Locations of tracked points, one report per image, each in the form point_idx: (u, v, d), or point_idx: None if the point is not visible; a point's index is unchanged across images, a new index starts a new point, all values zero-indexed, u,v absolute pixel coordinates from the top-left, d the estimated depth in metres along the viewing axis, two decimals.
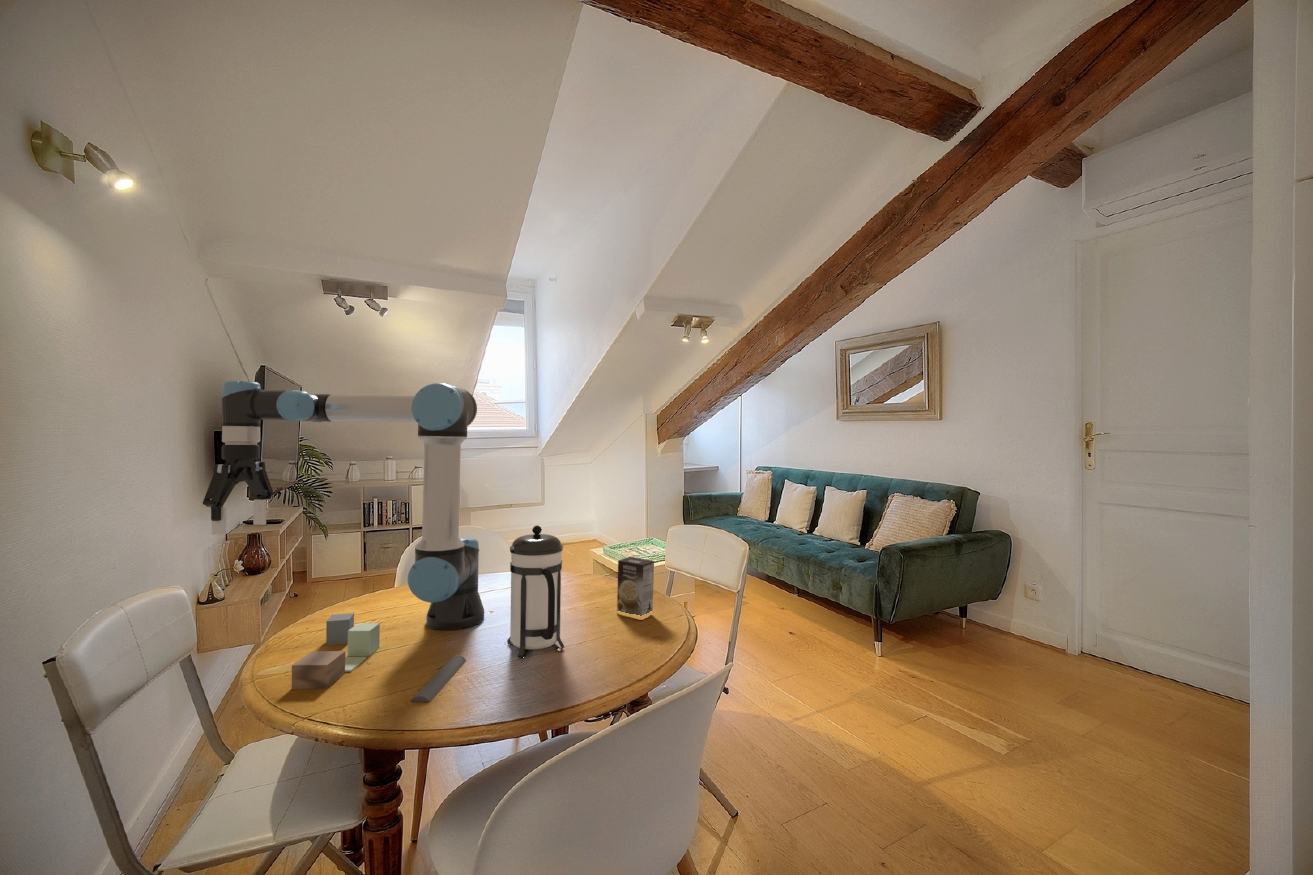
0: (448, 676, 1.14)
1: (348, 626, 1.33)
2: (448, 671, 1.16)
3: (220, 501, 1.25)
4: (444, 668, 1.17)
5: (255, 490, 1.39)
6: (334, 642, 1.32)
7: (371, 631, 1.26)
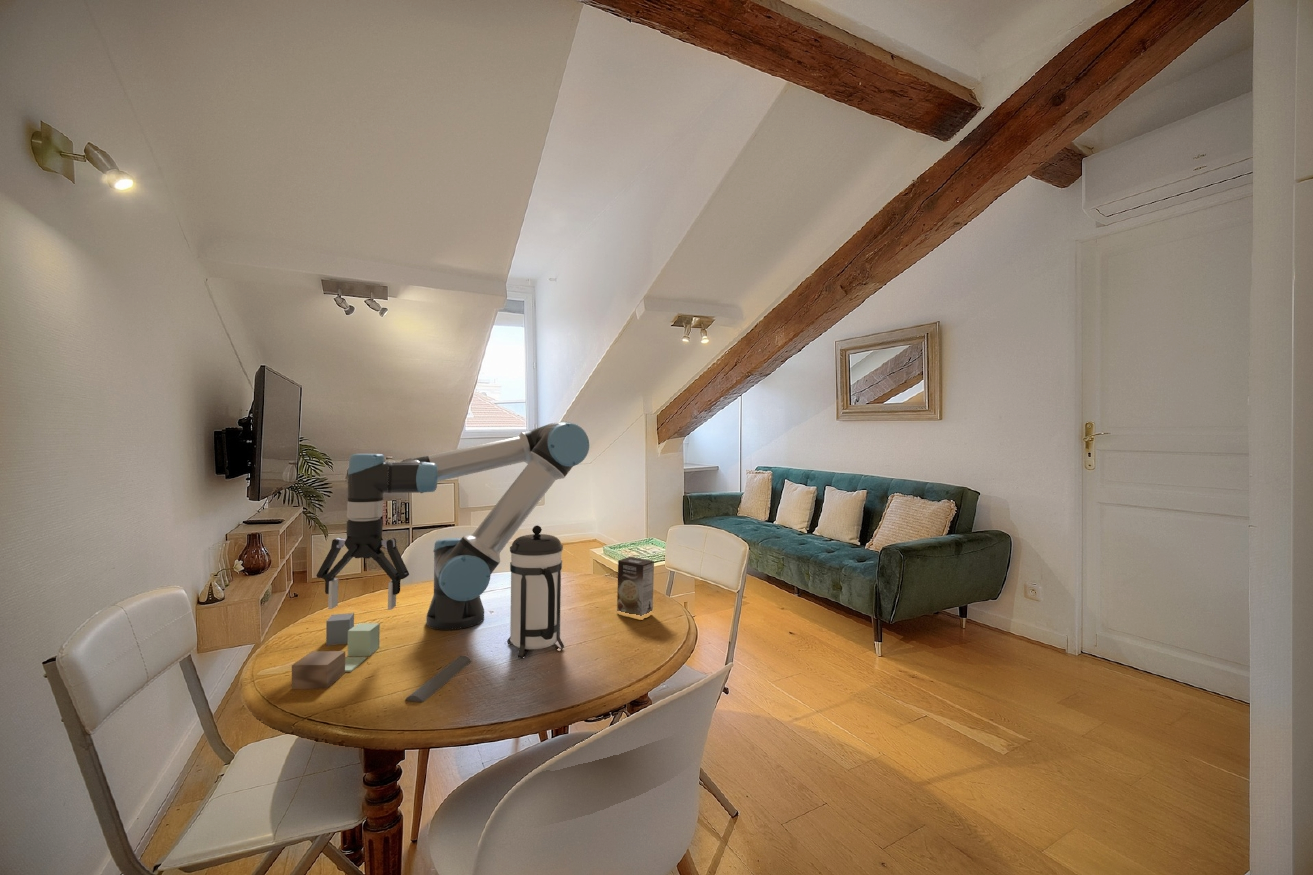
0: (448, 676, 1.14)
1: (348, 626, 1.33)
2: (449, 671, 1.16)
3: (326, 575, 1.26)
4: (446, 668, 1.17)
5: None
6: (334, 642, 1.32)
7: (371, 631, 1.26)
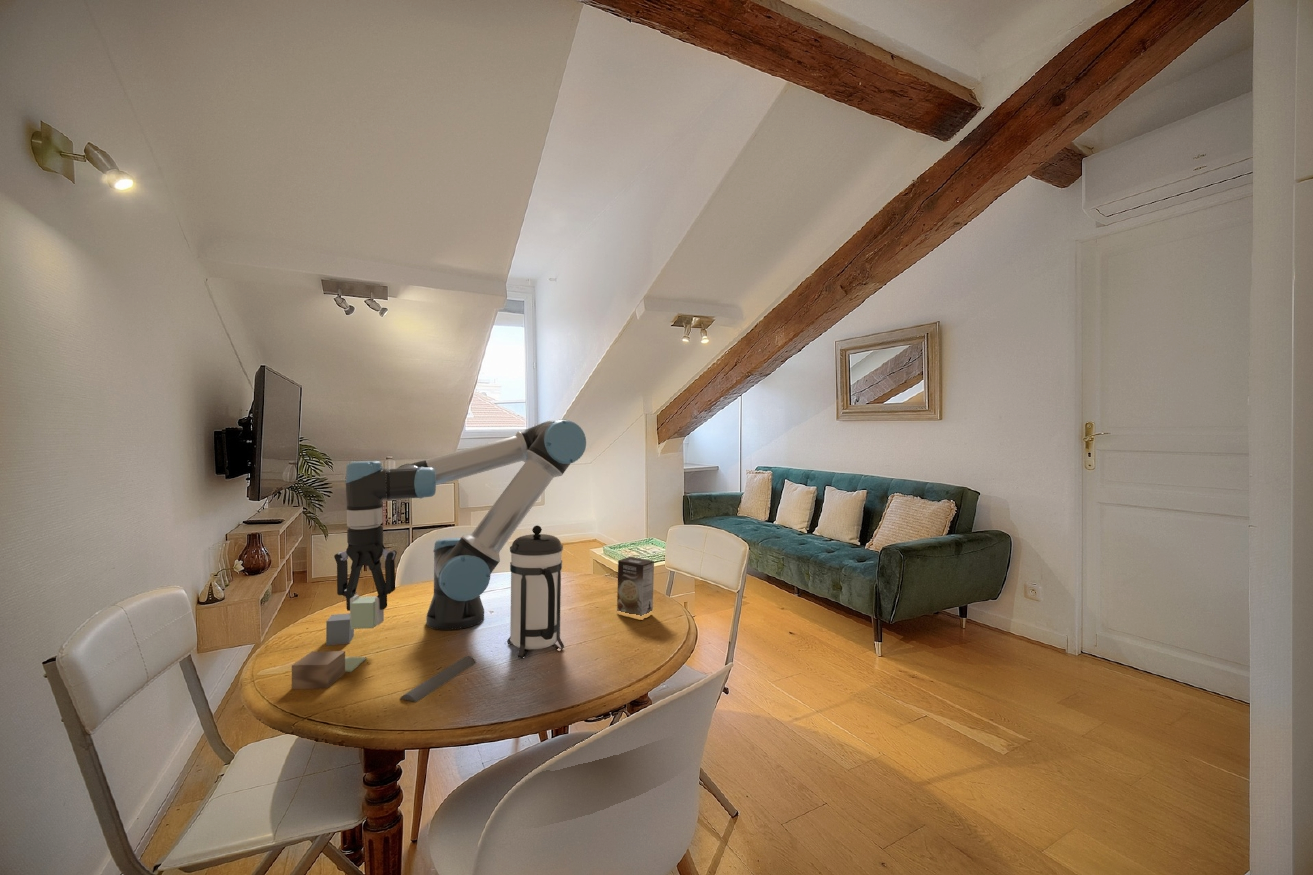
0: (447, 677, 1.14)
1: (348, 626, 1.33)
2: (449, 671, 1.16)
3: (346, 592, 1.27)
4: (447, 668, 1.17)
5: None
6: (334, 642, 1.32)
7: (374, 603, 1.26)
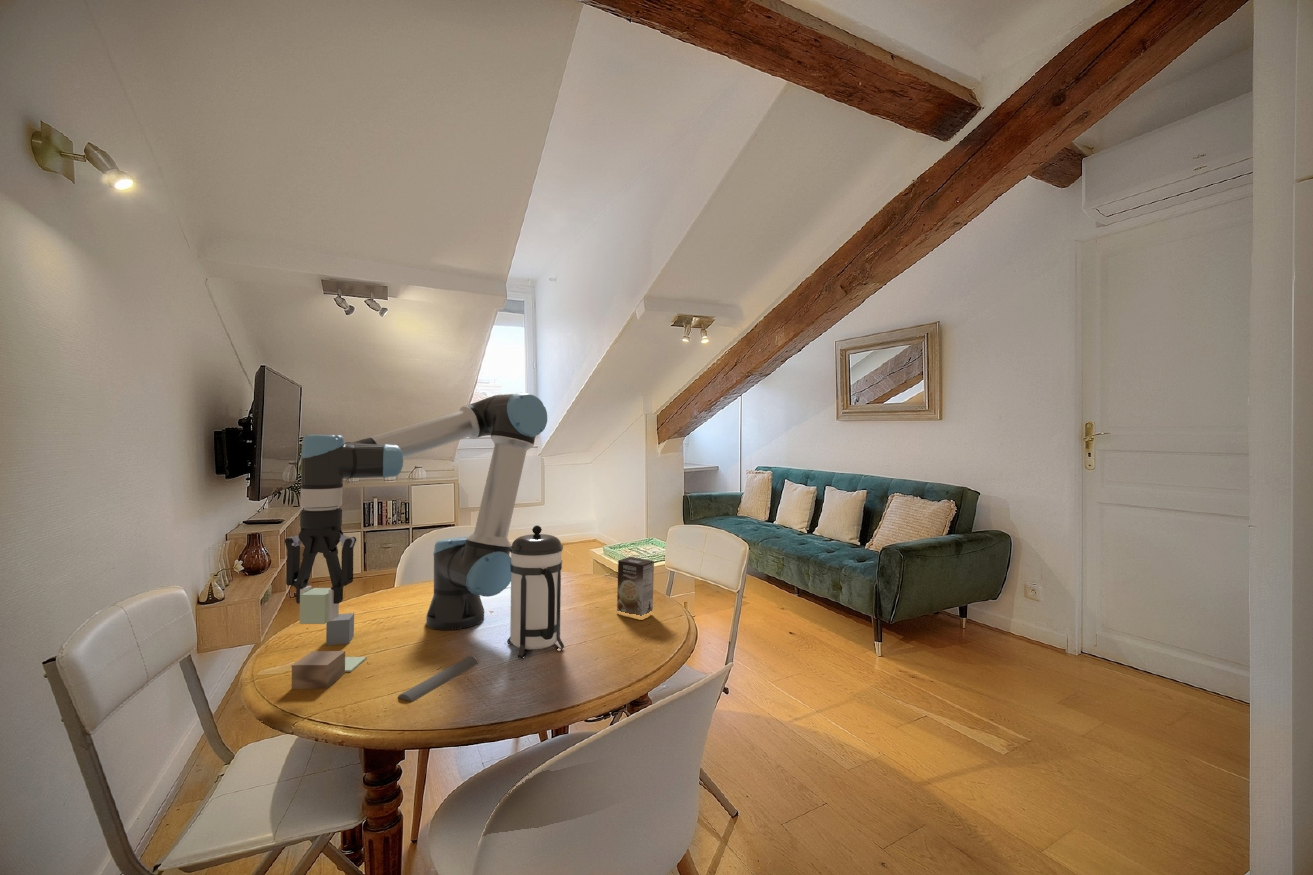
0: (447, 677, 1.14)
1: (348, 626, 1.33)
2: (450, 672, 1.16)
3: (296, 582, 1.12)
4: (448, 668, 1.17)
5: None
6: (334, 642, 1.32)
7: (327, 596, 1.11)
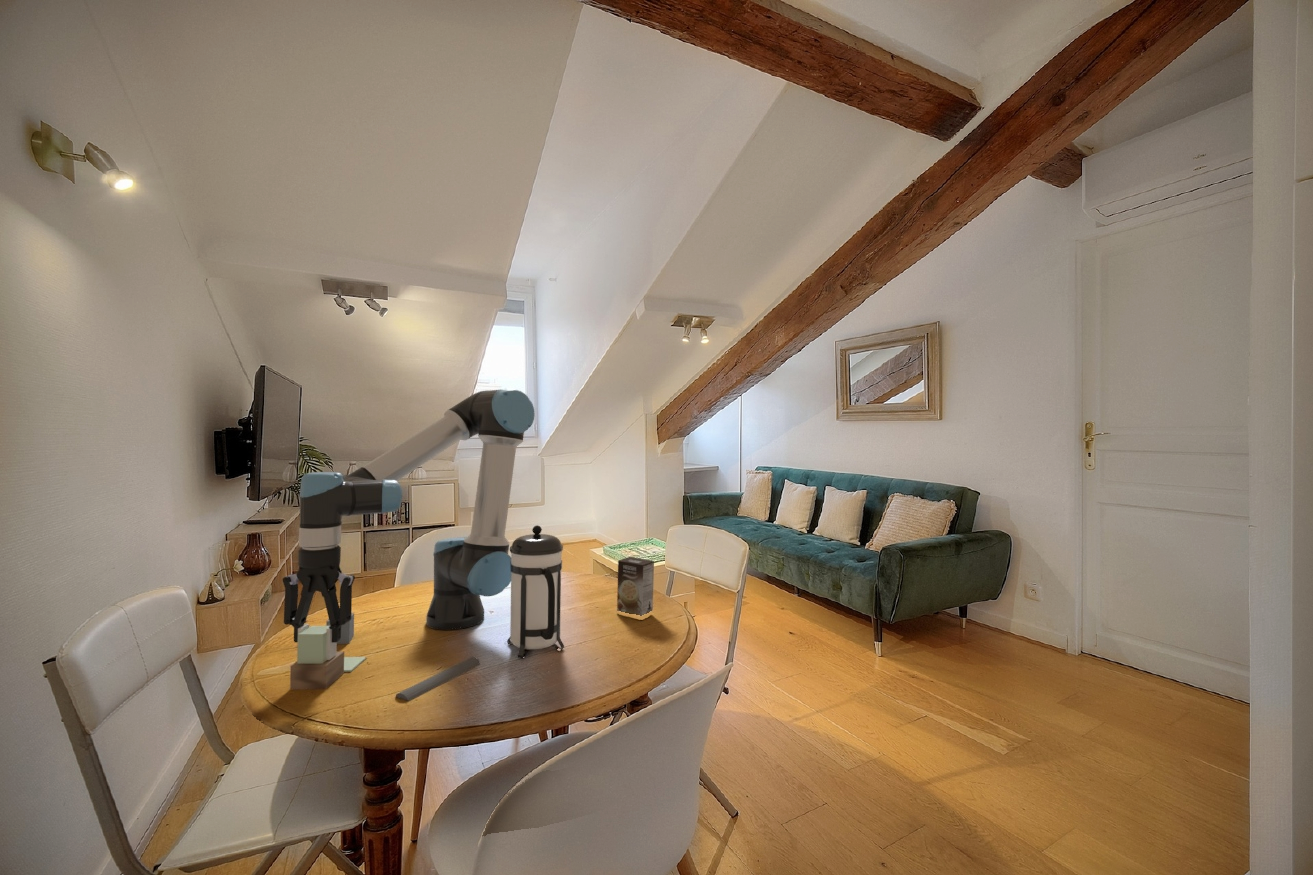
0: (446, 677, 1.14)
1: (348, 626, 1.33)
2: (450, 672, 1.15)
3: (294, 621, 1.11)
4: (449, 668, 1.17)
5: None
6: None
7: (325, 635, 1.11)
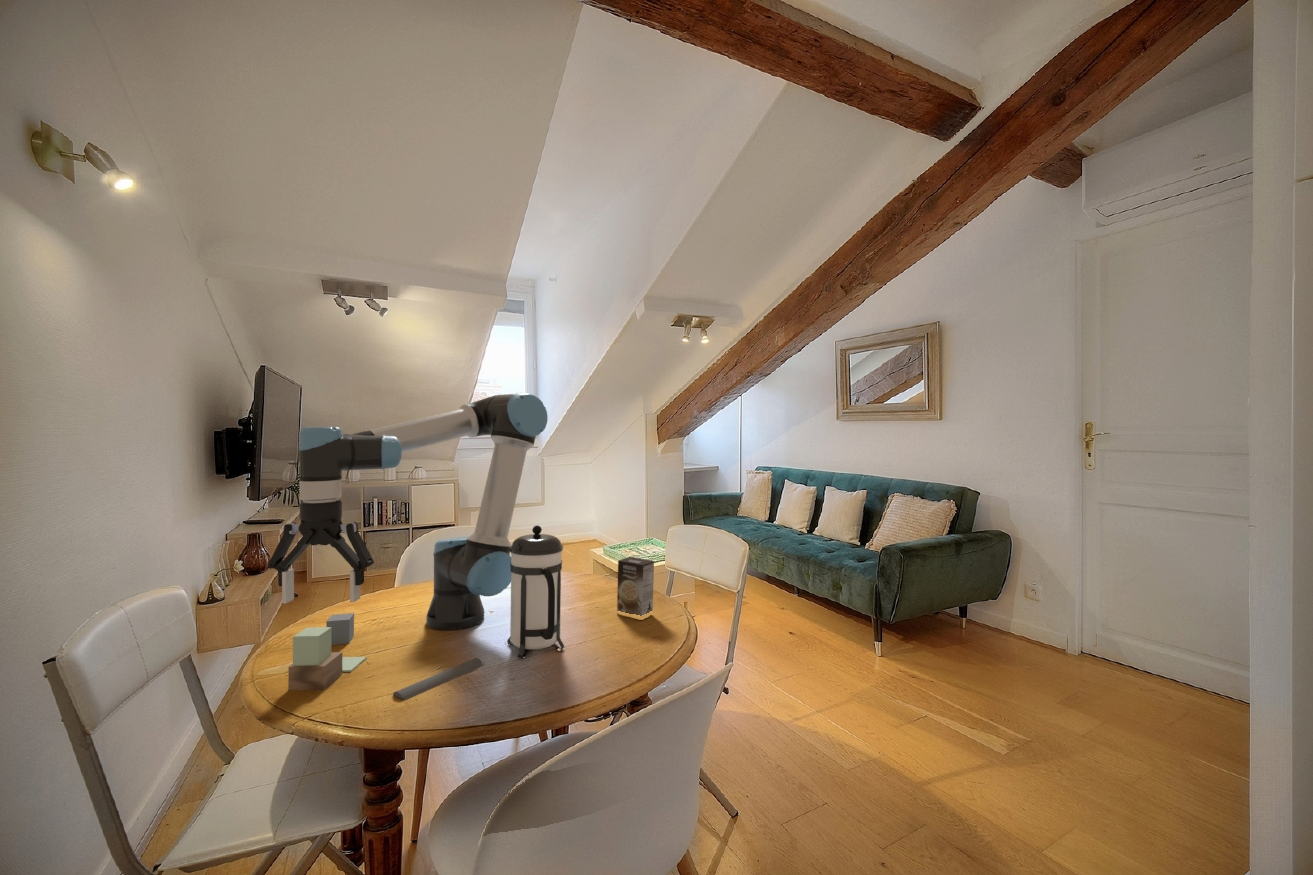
0: (446, 678, 1.14)
1: (348, 626, 1.33)
2: (450, 672, 1.15)
3: (279, 565, 1.11)
4: (450, 669, 1.17)
5: None
6: (334, 642, 1.32)
7: (321, 636, 1.10)
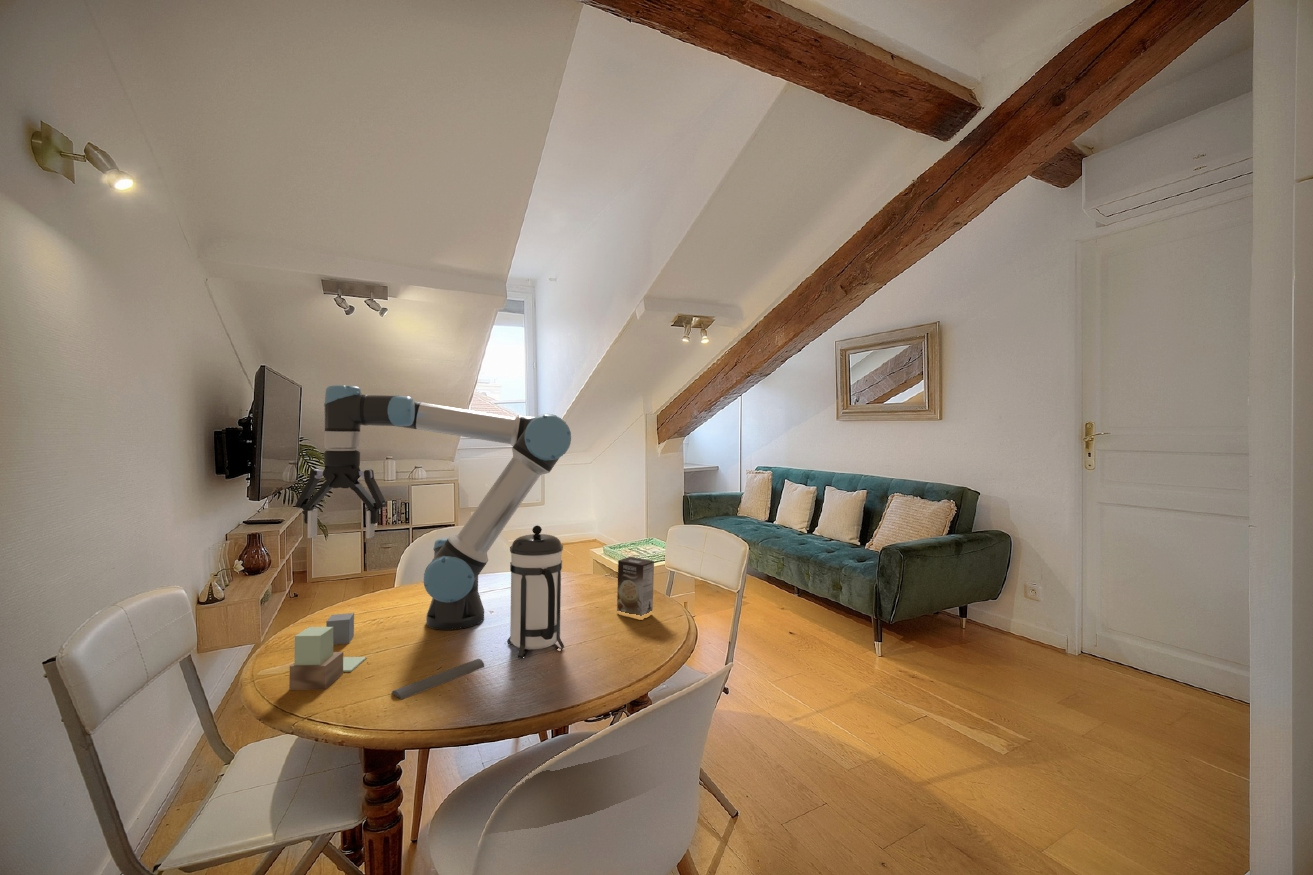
0: (445, 678, 1.14)
1: (348, 626, 1.33)
2: (450, 673, 1.15)
3: (305, 505, 1.29)
4: (451, 669, 1.17)
5: None
6: (334, 642, 1.32)
7: (322, 636, 1.10)
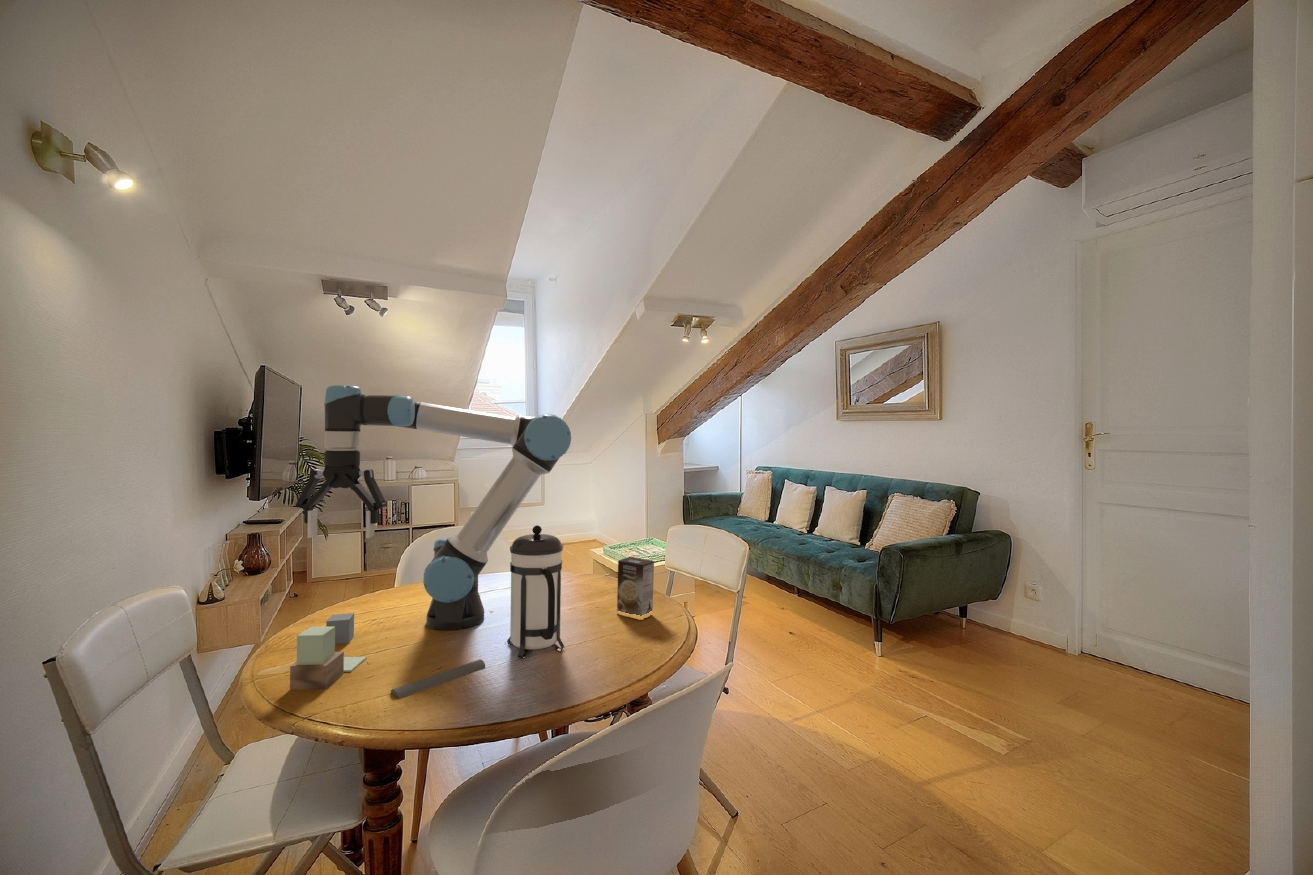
0: (445, 678, 1.13)
1: (348, 626, 1.33)
2: (450, 673, 1.15)
3: (305, 504, 1.29)
4: (451, 669, 1.17)
5: None
6: None
7: (324, 636, 1.10)
